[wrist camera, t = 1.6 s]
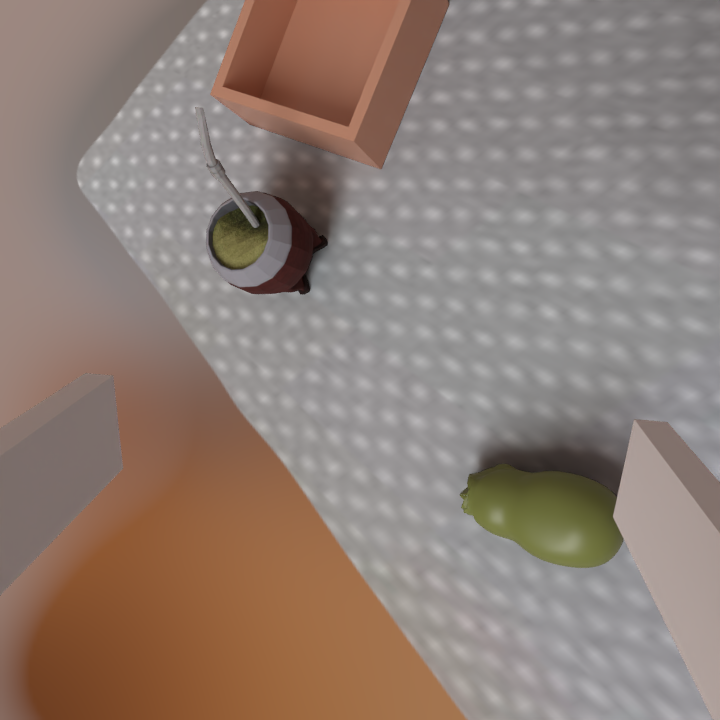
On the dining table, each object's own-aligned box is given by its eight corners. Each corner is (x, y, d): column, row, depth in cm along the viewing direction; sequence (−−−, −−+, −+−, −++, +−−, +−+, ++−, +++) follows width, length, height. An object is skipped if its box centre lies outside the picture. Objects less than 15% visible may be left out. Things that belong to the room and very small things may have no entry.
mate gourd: (271, 316, 48) (139, 289, 34) (240, 229, 49) (101, 168, 35) (351, 276, 45) (244, 229, 31) (317, 185, 47) (199, 102, 33)
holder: (307, -27, 48) (273, -76, 43) (449, 4, 43) (429, -47, 38) (249, 124, 49) (210, 94, 44) (381, 169, 45) (353, 141, 40)
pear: (610, 592, 33) (444, 539, 38) (623, 568, 38) (473, 524, 43) (626, 493, 33) (457, 453, 38) (637, 481, 37) (485, 447, 43)
